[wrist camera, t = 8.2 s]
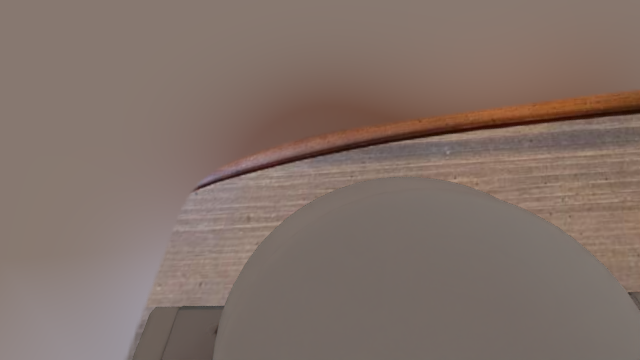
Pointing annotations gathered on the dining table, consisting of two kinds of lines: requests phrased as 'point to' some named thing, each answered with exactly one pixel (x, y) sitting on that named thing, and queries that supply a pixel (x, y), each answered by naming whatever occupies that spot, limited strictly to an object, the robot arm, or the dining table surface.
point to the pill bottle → (424, 283)
